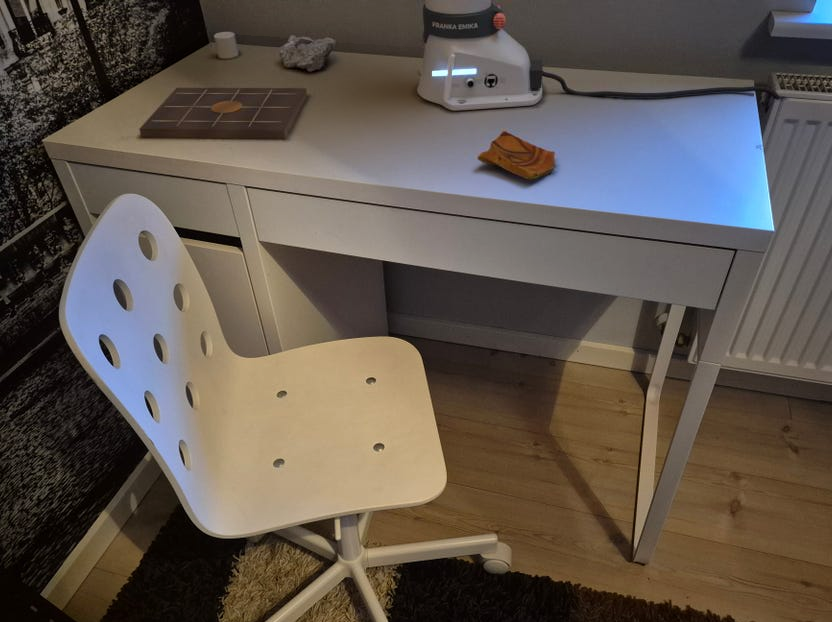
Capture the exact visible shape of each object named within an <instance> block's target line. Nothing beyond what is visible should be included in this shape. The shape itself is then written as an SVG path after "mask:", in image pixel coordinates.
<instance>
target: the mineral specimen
mask: <svg viewBox="0 0 832 622" xmlns="http://www.w3.org/2000/svg"><path fill="white" fill-rule="evenodd" d="M336 43H337V40H336V39H333V38H331V37H324V38H319V39H314V40H313V39H312V38H311V37H308V36H299V37H297V36H296V35H293V34H291V35H290V36H289V38H288V39H287V41H286V43H285V44H283V45H281V46H280V47H279V48H278V50H277V51H278V55H279V57H280V60H282V61H283V64H284V68H287V69H293V68H298V69H299V68H300V69H301V70H306V71H308V72H314V71H317V70H319V71H320V70H321V69H324V67H325V65H326V64H325V63H326V61H327V59H328V57H329V56H330V54H332V52H333V50H335V49H336V45H337V44H336Z"/></svg>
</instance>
